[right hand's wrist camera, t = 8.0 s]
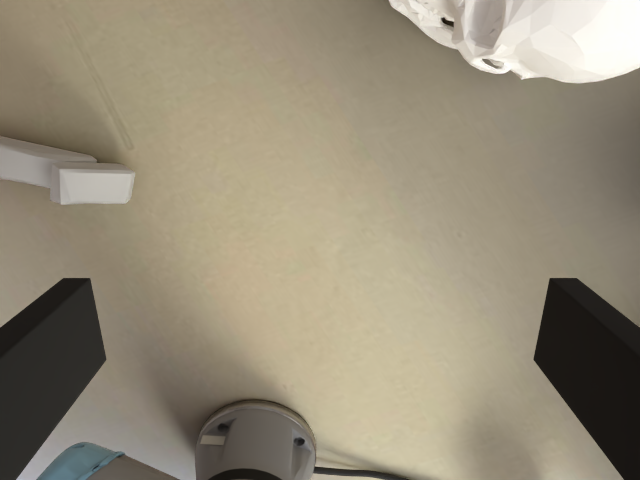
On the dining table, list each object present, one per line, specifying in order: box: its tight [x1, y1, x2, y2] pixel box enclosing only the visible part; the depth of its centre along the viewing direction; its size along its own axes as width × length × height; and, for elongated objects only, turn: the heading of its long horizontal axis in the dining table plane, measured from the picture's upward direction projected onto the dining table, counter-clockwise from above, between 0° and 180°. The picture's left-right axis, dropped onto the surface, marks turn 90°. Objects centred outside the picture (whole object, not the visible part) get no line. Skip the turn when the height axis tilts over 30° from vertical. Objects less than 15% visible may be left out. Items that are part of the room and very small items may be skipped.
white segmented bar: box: [0, 136, 135, 205], centre depth 41 cm, size 20×4×7 cm, turn 76°
